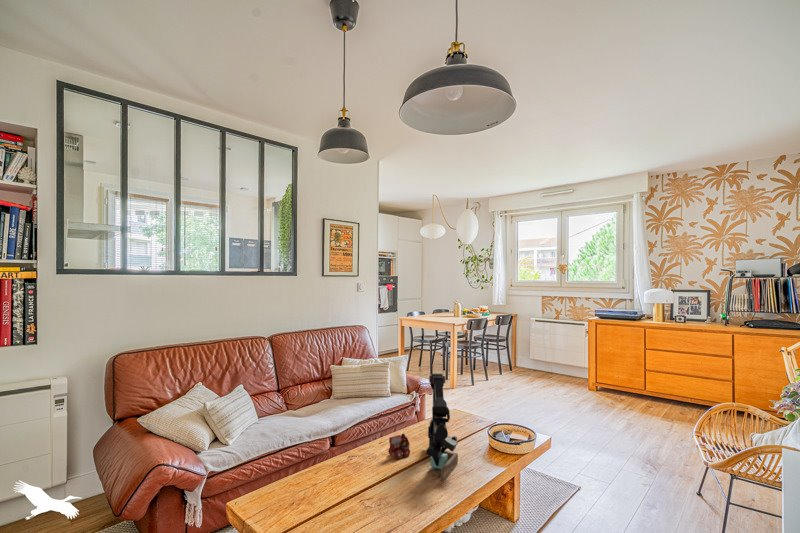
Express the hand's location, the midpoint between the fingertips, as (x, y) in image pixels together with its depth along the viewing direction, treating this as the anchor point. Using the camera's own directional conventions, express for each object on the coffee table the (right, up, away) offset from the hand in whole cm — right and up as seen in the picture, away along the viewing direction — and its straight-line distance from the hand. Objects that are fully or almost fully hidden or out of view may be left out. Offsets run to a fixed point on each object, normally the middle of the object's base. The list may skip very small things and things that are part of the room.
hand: (438, 463), depth 184 cm
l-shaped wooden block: (+1, -3, -1) cm, 3 cm away
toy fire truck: (-19, -3, +13) cm, 23 cm away
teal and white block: (0, -1, 0) cm, 1 cm away
